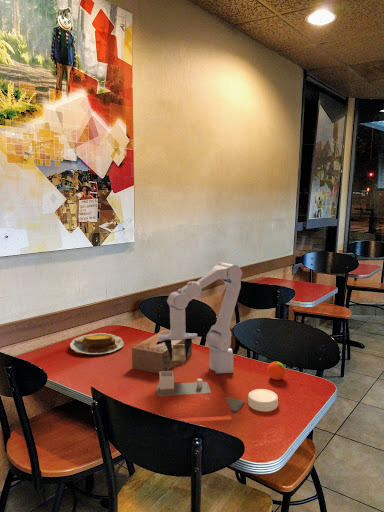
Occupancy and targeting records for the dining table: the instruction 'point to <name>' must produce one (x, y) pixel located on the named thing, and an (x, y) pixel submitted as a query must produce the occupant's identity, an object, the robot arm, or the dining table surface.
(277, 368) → the clementine
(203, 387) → the pin board
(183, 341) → the tissue box cover
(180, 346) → the birch sleeve
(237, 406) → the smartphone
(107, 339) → the food on plate
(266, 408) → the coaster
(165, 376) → the cream square cup
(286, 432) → the dining table surface
